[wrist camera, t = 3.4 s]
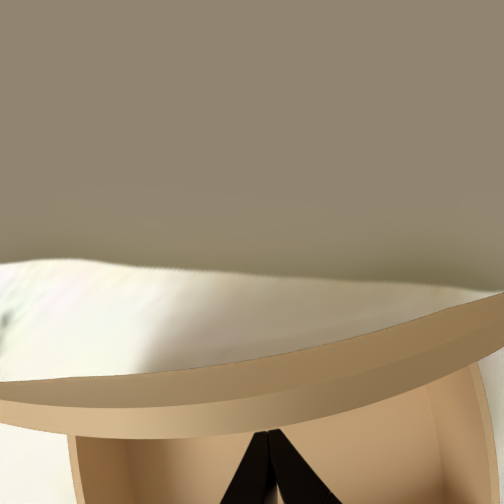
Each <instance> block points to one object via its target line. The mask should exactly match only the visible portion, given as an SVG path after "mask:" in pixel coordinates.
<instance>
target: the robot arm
mask: <svg viewBox="0 0 504 504" xmlns="http://www.w3.org/2000/svg"><path fill="white" fill-rule="evenodd" d="M277 485H278V488H279V492H280V495H281V498H282V501H283V504H343V503H342V502H341V501H340V500H339V499H338V498H337V497H336V496H335V495H334V494H333V492H331V490H330V489H329V488H328V487H327V486H326V485H325V483H324V482H323V481H322V480H321V479H320V477H319V476H318V475H317V474H316V473H315V471H314V470H313V469H312V468H311V467H310V465H309V464H308V463H307V462H306V461H305V459H304V458H303V457H302V456H301V454H300V453H299V452H298V451H297V449H296V448H295V447H294V446H293V444H292V443H291V442H290V441H289V439H288V438H287V437H286V435H285V434H284V433H283V432H282V430H281V429H279V428H277V429H271V430H268V432H267V431H259V432H255V433H254V434H253V436H252V438H251V441H250V443H249V445H248V447H247V449H246V451H245V453H244V455H243V458H242V460H241V462H240V464H239V466H238V468H237V470H236V472H235V474H234V476H233V478H232V480H231V482H230V484H229V486H228V488H227V490H226V492H225V494H224V496H223V498H222V499H221V501H220V503H219V504H278V488H277Z"/></svg>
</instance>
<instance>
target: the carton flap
mask: <svg viewBox="0 0 504 504" xmlns="http://www.w3.org/2000/svg"><path fill="white" fill-rule="evenodd" d="M502 347H504V292H503V293H500V294H497V295H494V296H490V297H487V298H484V299H480V300H477V301H473V302H470V303H466V304H462V305H459V306H455V307H451V308H447V309H444V310H442V311H439V312H436V313H433V314H430V315H427V316H424V317H421V318H418V319H415V320H412V321H409V322H406V323H403V324H399V325H396V326H393V327H389V328H386V329H383V330H379V331H376V332H372V333H369V334H365V335H361V336H358V337H354V338H350V339H346V340H342V341H338V342H334V343H330V344H326V345H322V346H317V347H313V348H309V349H304V350H299V351H295V352H290V353H285V354H280V355H275V356H270V357H264V358H259V359H253V360H247V361H241V362H235V363H229V364H222V365H215V366H208V367H201V368H193V369H185V370H176V371H166V372H156V373H144V374H130V375H114V376H89V377H68V378H57V379H45V380H30V381H11V382H0V423H4V424H8V425H13V426H17V427H22V428H27V429H33V430H39V431H45V432H51V433H59V434H66V435H75V436H85V437H98V438H115V439H177V438H195V437H208V436H219V435H228V434H236V433H244V432H251V431H258V430H264V429H270V428H276V427H282V426H287V425H292V424H297V423H302V422H306V421H311V420H315V419H319V418H323V417H327V416H331V415H335V414H339V413H343V412H346V411H350V410H353V409H357V408H360V407H364V406H367V405H370V404H373V403H376V402H379V401H382V400H385V399H388V398H391V397H394V396H397V395H400V394H402V393H405V392H408V391H410V390H413V389H416V388H418V387H421V386H423V385H426V384H428V383H431V382H433V381H435V380H438V379H440V378H442V377H444V376H447V375H449V374H451V373H453V372H456V371H458V370H460V369H462V368H464V367H466V366H468V365H470V364H472V363H474V362H476V361H478V360H480V359H482V358H484V357H486V356H488V355H490V354H491V353H493V352H495V351H497V350H499V349H500V348H502Z"/></svg>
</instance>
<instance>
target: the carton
mask: <svg viewBox="0 0 504 504" xmlns="http://www.w3.org/2000/svg"><path fill="white" fill-rule="evenodd" d="M277 428H279V429H281V430H282V432H283V433H284V434H285V435H286V437H287V438H288V439H289V441H290V442H291V443H292V444H293V446H294V447H295V448H296V449H297V451H298V452H299V453H300V454H301V456H302V457H303V458H304V459H305V461H306V462H307V463H308V464H309V465H310V467H311V468H312V469H313V470H314V471H315V473H316V474H317V475H318V476H319V477H320V479H321V480H322V481H323V482H324V483H325V485H326V486H327V487H328V488H329V489H330V490H331V492H333V494H334V495H335V496H336V497H337V498H338V499H339V500H340V501H341V502H342V503H343V504H500V495H499V478H498V466H497V457H496V449H495V442H494V435H493V429H492V423H491V418H490V413H489V408H488V403H487V399H486V394H485V390H484V386H483V382H482V378H481V374H480V370H479V367H478V363H477V361H476V362H474V363H472V364H470V365H468V366H466V367H464V368H462V369H460V370H458V371H456V372H453V373H451V374H449V375H447V376H444V377H442V378H440V379H438V380H435V381H433V382H431V383H428V384H426V385H423V386H421V387H418V388H416V389H413V390H410V391H408V392H405V393H402V394H400V395H397V396H394V397H391V398H388V399H385V400H382V401H379V402H376V403H373V404H370V405H367V406H364V407H360V408H357V409H353V410H350V411H346V412H343V413H339V414H335V415H331V416H327V417H323V418H319V419H315V420H311V421H306V422H302V423H297V424H292V425H287V426H282V427H276V428H270V429H264V430H258V431H251V432H244V433H236V434H228V435H219V436H208V437H195V438H177V439H115V438H98V437H85V436H75V435H67V439H68V449H69V457H70V465H71V472H72V478H73V484H74V490H75V495H76V500H77V504H219V503H220V501H221V499H222V498H223V496H224V494H225V492H226V490H227V488H228V486H229V484H230V482H231V480H232V478H233V476H234V474H235V472H236V470H237V468H238V466H239V464H240V462H241V460H242V458H243V455H244V453H245V451H246V449H247V447H248V445H249V443H250V441H251V438H252V436H253V434H254V433H255V432H259V431H267V432H268V430H271V429H277ZM277 488H278V485H277ZM278 504H283V501H282V498H281V495H280V492H279V488H278Z"/></svg>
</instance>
